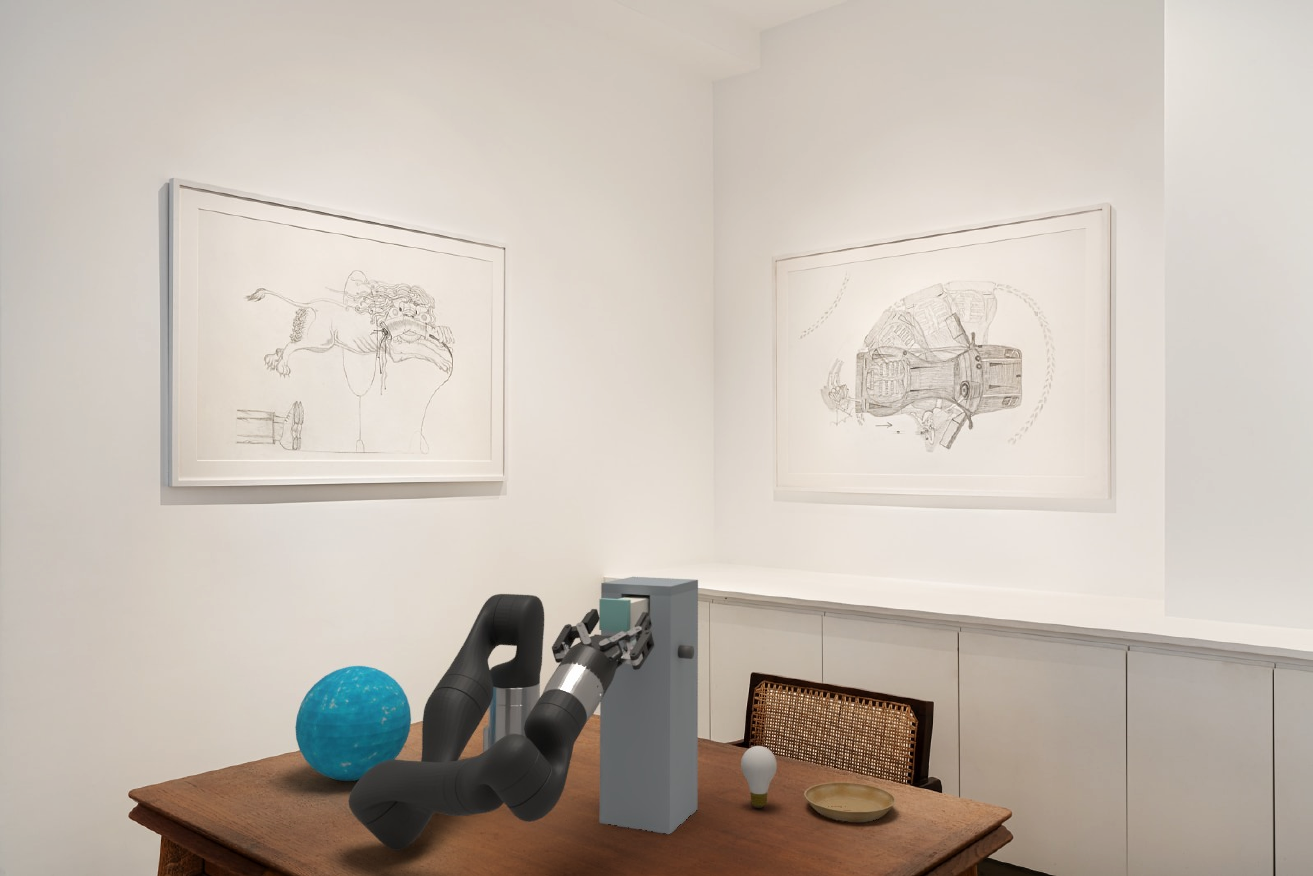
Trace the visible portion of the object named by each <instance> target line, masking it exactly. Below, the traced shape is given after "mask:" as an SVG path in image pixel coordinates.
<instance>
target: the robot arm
mask: <svg viewBox="0 0 1313 876" xmlns="http://www.w3.org/2000/svg"><path fill="white" fill-rule="evenodd" d="M598 611H599V610H598V609H597V608H591V609H590V611H588V612H586V614H585V615H584V616H583V618H582V620H581V621H580V622H578V623H576V625H573V626H572V624H570V623H568V624H564V626H563V628H562V630H561V631H560V632H559V634H558V636H557V638H556V640H555V642H553V644H552V646H551V651H552V654H553V657H554V660H555V662H556V663H558V664H559V665H558V666H557V667H556V669H555V671H554V672H553V673H552V675H551V677H550V678H549V679H548V682H547V683H546V685H545V687H544V690H543V692H542V693H541V683H540V682H541V670H542V665H543V650H544V649H543V648H544V635H545V634H544V632H545V631H544V630H545V608H544V605H543V601H542V600H541V599H540V597H538V596H537V595H533V594H532V595H531V594H514V593H499V594H498V593H497V594H494V595H492V596H490V597H489V598H488V599H486V601H485V602H484V604H483V605H482V607H481V609H480V611H479V613H478V614H477V616H476V618H475V620H474V623H473V625H472V626H471V628H470V631H469V633H468V634H467V637H466V639H465V641H464V643H463V644H462V645H461V648H460V649H459V651H458V653H457V654H456V656H455V658H454V659H453V661H451V664H450V666H449V667H448V668H447V670H446V671H445V673H444V674H443V676H442V677H441V679H440V680H439V681H438V683H437V685H436V686H435V688H434V689H433V690H432V692H431V694H430V695H429V697H428V698H427V701H426V703H425V706H424V708H423V716H422V726H421V727H422V730H421V731H422V733H421V736H422V737H421V740H422V741H421V744H422V745H421V747H422V748H421V760H419V761H418V760H405V759H395V760H387V761H384V762H381V763H379V764H377V765H375V766H373V767H372V768H371V769H369V770H368V771H367V772H366V773H365V774H364V775H363V776H362V777H361V778H360V779H359V780H357V782H356V783H355V785H354V786H353V788H352V789H351V792H350V794H349V795H348V807H349V809H350V812H351V813H352V814H353V816H354V817H355V818H356V819H357V820H358V822H360V823H361V824H362V825H363V826H364V827H365V829H367V830H368V831H369V832H370V833H371V835H374V837H375V838H376V839H377V840H378V841H380V842H381V843H382V844H383V845H384V846H385V847H387V848H389V849H390V850H393V851H401V850H403V849H405V848H407V847H409V846H410V845H411V844H412V843H414V842H415V840H417V839H418V837H419V836H420V835H421V834H422V832H423V831H424V830H425V828H426V827H427V826H428V824H429V822H430V821H431V819H432V817H433V815H434V814H435V813H437V814H441V815H446V816H452V817H468V816H472V815H473V816H474V815H480V814H486V813H491V812H493V811H495V810H497V809H499V808H500V807H502V805H503V804H505V806H506V807H507V808H508V809H509V811H510V812H511V813H512V814H513V815H514V816H515V817H516V818H517V819H519V820H520V821H523V822H527V823H529V822H530V823H531V822H535V821H538V820H540V819H543V818H544V817H546V816H547V815H548V814H550V812H551V811H553V809H554V808H555V806H556V805H557V803H558V802H559V800H560V798H561V797H562V793H563V792H564V789H565V786H566V782H567V779H568V773H569V769H570V764H571V761H572V756H573V750H574V746H575V743H576V741H577V740H578V737H580V734H581V733H582V731H583V729H584V727H585V725H586V723H587V722H588V721H589V719H591V717H592V716H593V715H594V713H595V712H596V710H597V709H598V707H599V705H600V701H601V700H602V698H603V696H604V694H605V693H606V691H607V689H608V687H609V686H610V684H611V682H612V680H613V678H614V675H615V671H616V669H617V668H618V667H619V666H621V665H622V664H623V663H625V664H632V667H633V669H634V670H638V669H640V668H641V666H642V665H643V663H644V661H645V660H646V658H647V657H648V655H649V654H650V652H651V650H652V649H653V647H654V641H653V636H652V632H651V630H649V629H650V628H651V626H652V623H651V619H650V616H649V615H648V612H642V614H641V616H640V618H639V619H638V621H637V623H636V624H635V628H633V629H631V630H629V631H627V632H625V631H621V632H620V633H618V634H616V635H614V636H610V635H608V636H602V635H601V634H594V635H591V634H592V633H593V631H594V629H595V628H596V627H597V625H598V624H599V612H598ZM590 635H591V636H590ZM634 636H635V638H636V639H635V640H633V641H630V639H631V638H632V637H634ZM576 639H579V640H580V641H579V642H578V643H576V644H574V642H575V640H576ZM620 641H623V645H624V647H623V649H621V647H620V644H619V642H620ZM499 646H511V647H513V646H514V647H516V649H515V656H514V657H513V658H512V659H511V660H509V661H505V662H503V663H499V664H497V665H494V666H492V667H491V668H490V667H489V659H490V655H491V654H492V652H493V651H494V650H495V649H496V648H497V647H499ZM487 712H488V721H487V722H488V723H487V725H485V726H484V727H483V732H482V733H483V735H482V736H483V739H482V740H483V741H482V742H483V743H482V748H483V749H482V753H479V754H478V755H476V756H471V757H467V758H463V759H460V757H461V755H462V754H463V752H464V750H465V748H466V746H467V744H468V743H469V741H470V739H471V738H472V736H473V735H474V733H475V731H477V729H478V727H479V725H480V723H481V722H482V720H483V718H484V716H485V714H486V713H487Z"/></svg>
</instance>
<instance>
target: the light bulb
mask: <svg viewBox="0 0 1313 876" xmlns="http://www.w3.org/2000/svg"><path fill="white" fill-rule="evenodd" d="M740 766H741V772H742V774H743V775H744V777H745V779H746V781H747V784H748V787H749V791H750V803H751V804H752V805H753V806H754V807H755V808H756V809H762V808H763V807H764V806H766V805H767V804H768V803H767V802H768V792H769V791H768V790H769V787H770V784H771V781H772V779H773V778H774V777H775V774H776V773H777V770H778V769H777V766H778V765H777V759H776V756H775V754H774V753H773V751H772V750H770V749H769V748H767V747H765V746H762V745H755V746H754V745H753V746H752V747H750V748H748V749H747V750H746V751H745V752H744V753H743V755H742V757H741V761H740Z"/></svg>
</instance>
